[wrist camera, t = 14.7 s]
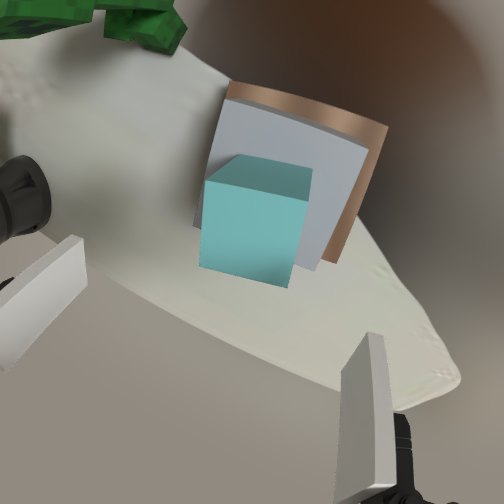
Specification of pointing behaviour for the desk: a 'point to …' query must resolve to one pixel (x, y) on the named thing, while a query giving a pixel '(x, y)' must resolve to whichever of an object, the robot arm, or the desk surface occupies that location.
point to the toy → (81, 11)
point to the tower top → (293, 152)
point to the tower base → (336, 119)
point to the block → (254, 218)
